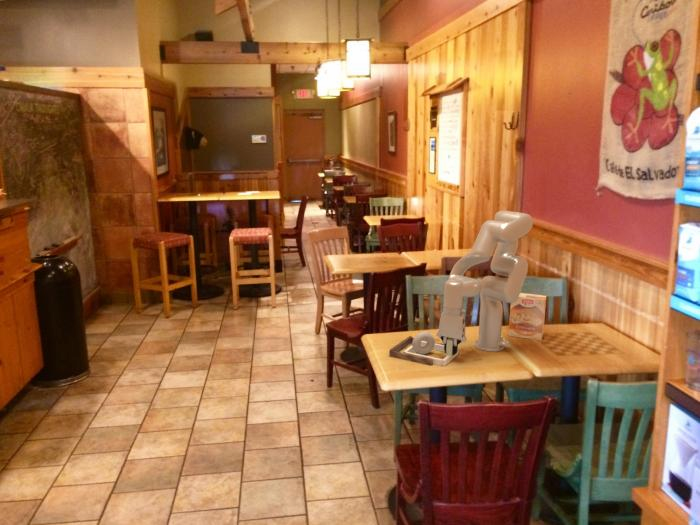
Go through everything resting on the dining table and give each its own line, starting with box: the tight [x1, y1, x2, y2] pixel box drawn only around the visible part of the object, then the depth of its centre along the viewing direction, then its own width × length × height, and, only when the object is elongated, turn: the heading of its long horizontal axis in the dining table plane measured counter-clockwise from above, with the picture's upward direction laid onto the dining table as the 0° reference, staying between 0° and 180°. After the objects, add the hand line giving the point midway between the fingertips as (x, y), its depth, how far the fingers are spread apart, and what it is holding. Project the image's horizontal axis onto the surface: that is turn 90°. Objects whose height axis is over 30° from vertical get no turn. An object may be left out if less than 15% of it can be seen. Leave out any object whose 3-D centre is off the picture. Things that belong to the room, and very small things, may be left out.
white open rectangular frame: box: [402, 338, 459, 367], centre depth 246 cm, size 19×16×9 cm
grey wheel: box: [411, 331, 436, 355], centre depth 248 cm, size 10×4×10 cm, turn 105°
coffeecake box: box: [507, 292, 547, 341], centre depth 271 cm, size 15×7×20 cm, turn 68°
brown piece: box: [388, 335, 444, 366], centre depth 250 cm, size 19×20×3 cm
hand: (450, 352), depth 243 cm, fingers closed on white open rectangular frame, 2 cm apart
